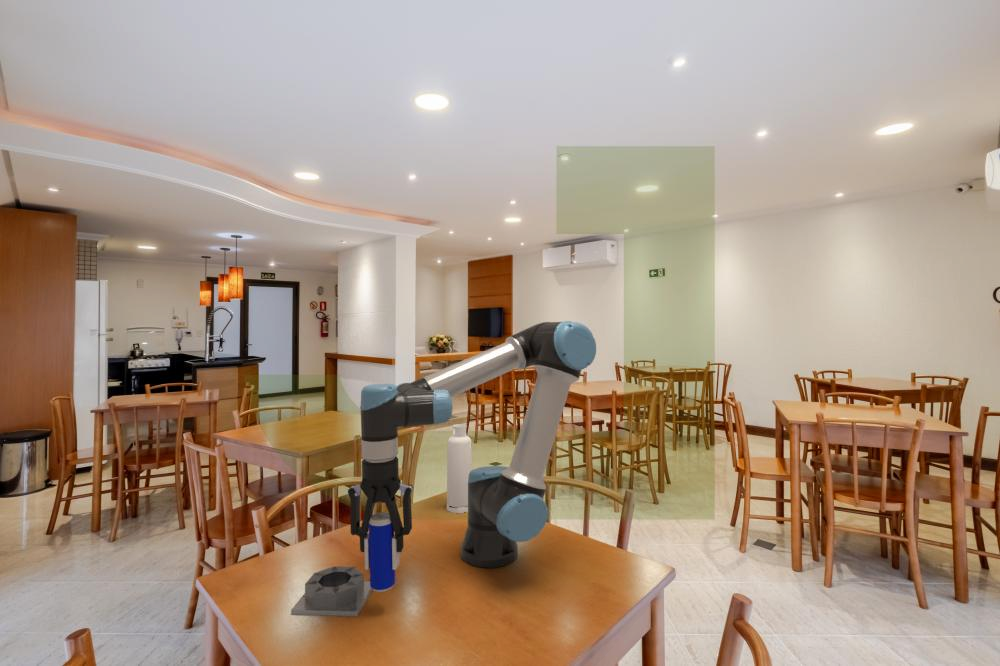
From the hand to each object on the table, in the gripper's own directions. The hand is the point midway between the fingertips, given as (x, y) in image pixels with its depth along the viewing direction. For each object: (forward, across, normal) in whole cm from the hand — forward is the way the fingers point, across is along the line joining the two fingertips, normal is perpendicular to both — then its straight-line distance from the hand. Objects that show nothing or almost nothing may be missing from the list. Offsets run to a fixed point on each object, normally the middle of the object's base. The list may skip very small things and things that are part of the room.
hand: (382, 566), depth 102 cm
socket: (+9, +12, -4) cm, 15 cm away
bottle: (+11, -9, -59) cm, 60 cm away
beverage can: (+5, 0, 0) cm, 5 cm away
